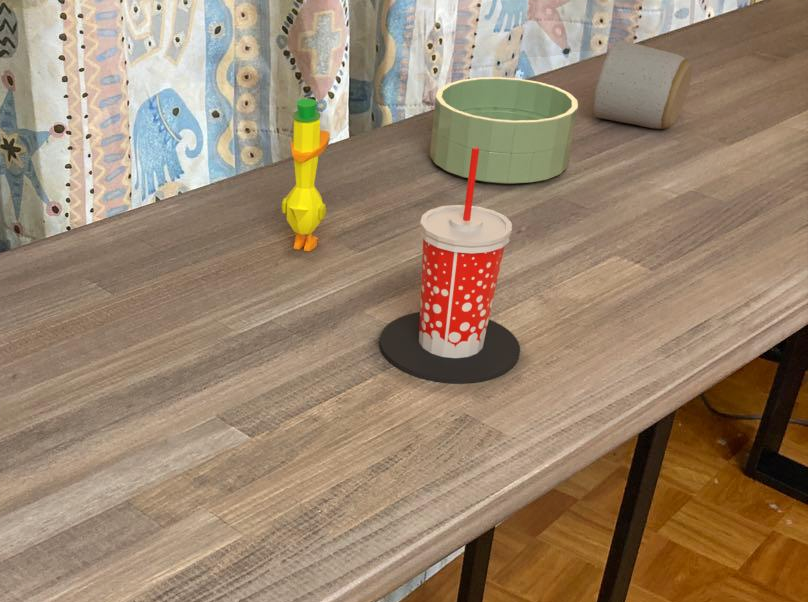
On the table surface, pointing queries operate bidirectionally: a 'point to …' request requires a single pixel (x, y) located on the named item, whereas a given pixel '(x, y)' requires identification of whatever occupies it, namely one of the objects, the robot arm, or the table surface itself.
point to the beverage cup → (460, 273)
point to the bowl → (503, 129)
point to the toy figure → (306, 175)
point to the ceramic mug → (642, 85)
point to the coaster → (413, 359)
